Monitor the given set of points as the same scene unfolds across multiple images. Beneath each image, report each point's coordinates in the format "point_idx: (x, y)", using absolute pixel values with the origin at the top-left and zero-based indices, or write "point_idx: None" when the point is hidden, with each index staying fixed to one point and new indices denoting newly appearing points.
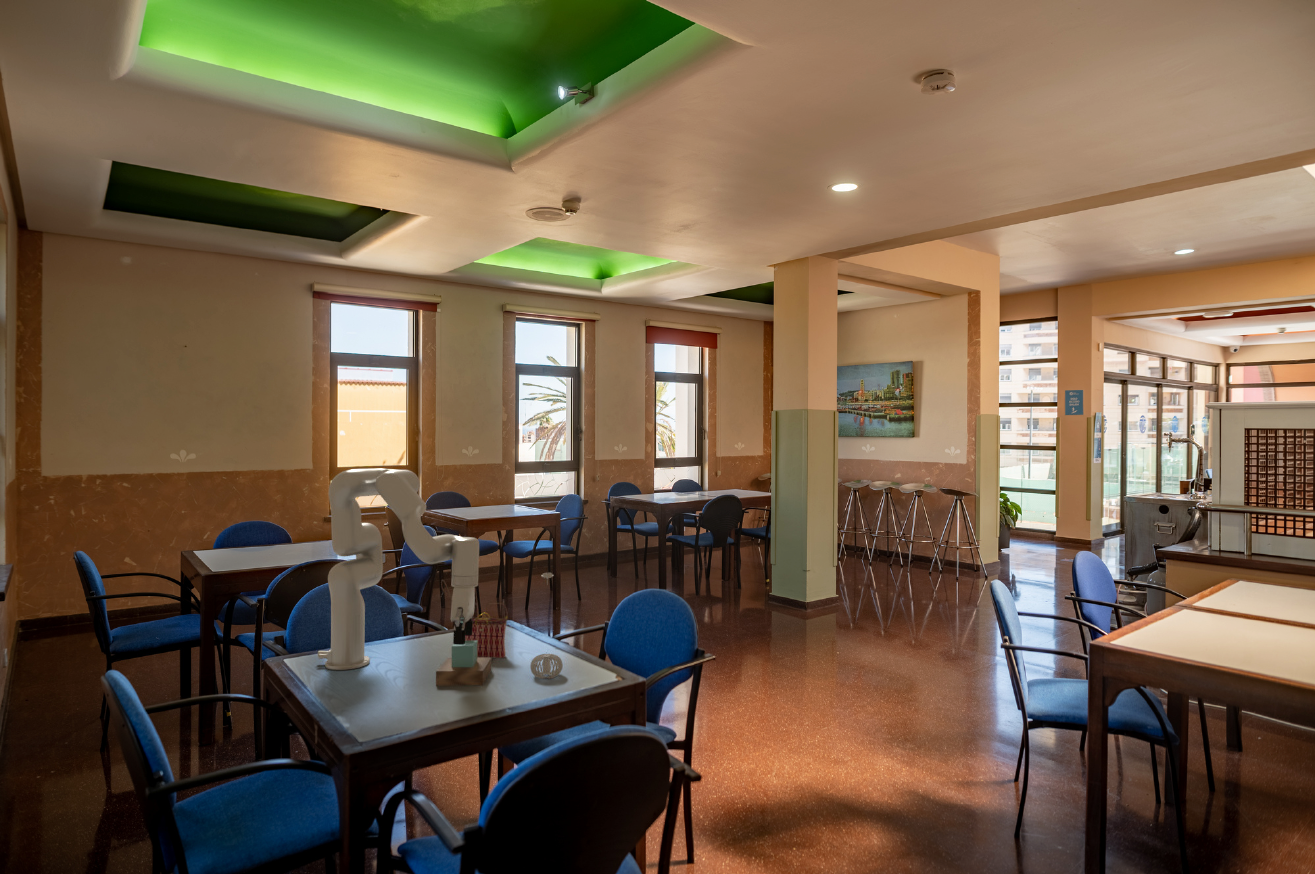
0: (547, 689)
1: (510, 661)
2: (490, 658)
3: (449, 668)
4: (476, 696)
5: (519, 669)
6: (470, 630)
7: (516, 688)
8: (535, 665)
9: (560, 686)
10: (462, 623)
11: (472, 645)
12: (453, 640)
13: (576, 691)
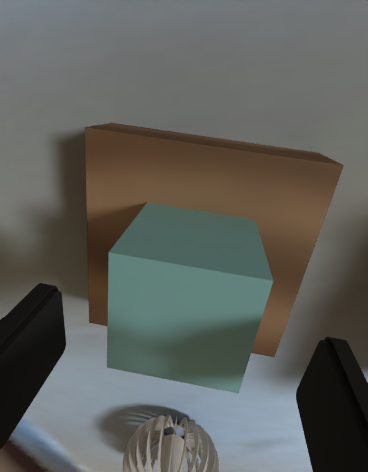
0: (72, 418)
1: (364, 375)
2: (259, 352)
3: (127, 193)
4: (4, 271)
5: (257, 387)
6: (306, 425)
7: (78, 365)
8: (138, 451)
9: (93, 440)
10: (361, 454)
11: (121, 365)
12: (23, 299)
13: (60, 455)
